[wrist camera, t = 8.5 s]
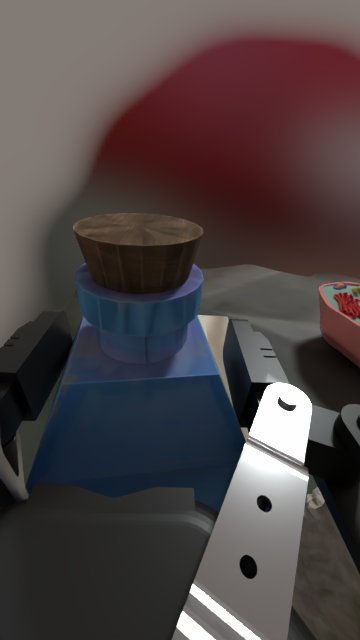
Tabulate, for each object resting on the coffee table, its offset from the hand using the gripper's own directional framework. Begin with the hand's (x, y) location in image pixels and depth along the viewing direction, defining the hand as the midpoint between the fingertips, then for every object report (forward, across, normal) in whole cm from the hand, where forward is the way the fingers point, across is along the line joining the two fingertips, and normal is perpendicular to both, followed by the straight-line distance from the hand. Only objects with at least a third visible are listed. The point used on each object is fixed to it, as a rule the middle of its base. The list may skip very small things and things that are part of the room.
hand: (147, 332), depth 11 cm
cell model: (+20, -31, +18) cm, 41 cm away
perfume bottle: (-2, 0, +7) cm, 8 cm away
